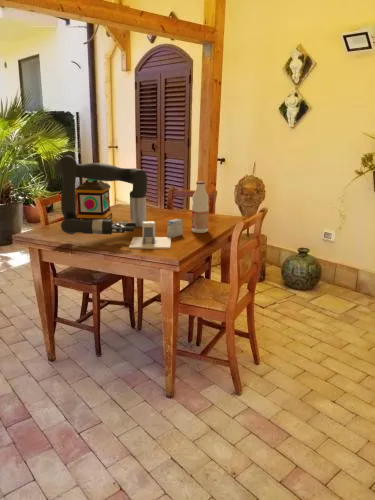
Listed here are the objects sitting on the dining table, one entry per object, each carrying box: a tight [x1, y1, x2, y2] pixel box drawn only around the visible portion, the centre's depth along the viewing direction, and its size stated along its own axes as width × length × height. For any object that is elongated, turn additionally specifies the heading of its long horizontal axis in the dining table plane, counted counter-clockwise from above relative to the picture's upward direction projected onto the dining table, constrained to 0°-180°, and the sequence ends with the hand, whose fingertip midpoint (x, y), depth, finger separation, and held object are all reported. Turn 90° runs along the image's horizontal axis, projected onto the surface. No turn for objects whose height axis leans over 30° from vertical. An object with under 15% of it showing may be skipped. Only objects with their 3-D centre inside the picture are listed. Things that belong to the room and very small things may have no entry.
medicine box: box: [166, 218, 184, 239], centre depth 222 cm, size 8×4×9 cm, turn 141°
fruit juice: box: [191, 180, 210, 234], centre depth 229 cm, size 9×9×28 cm
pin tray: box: [128, 236, 172, 250], centre depth 208 cm, size 18×20×3 cm
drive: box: [141, 220, 156, 243], centre depth 207 cm, size 4×6×10 cm
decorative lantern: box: [75, 178, 113, 220], centre depth 250 cm, size 20×20×30 cm
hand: (134, 227), depth 206 cm, fingers open, 8 cm apart
